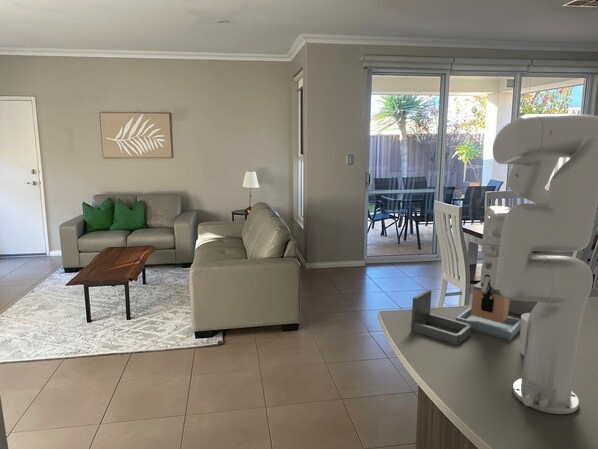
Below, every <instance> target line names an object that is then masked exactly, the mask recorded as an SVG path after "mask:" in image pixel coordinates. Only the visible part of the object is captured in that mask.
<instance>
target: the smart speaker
mask: <svg viewBox="0 0 598 449" xmlns="http://www.w3.org/2000/svg"><path fill="white" fill-rule="evenodd" d="M537 303H538V302H534V301H515V300H510V301H509V311H508V313H511V314H512V315H514V316H517V315H518V317H521V315H522V314H524V313H531V311H532V309H533V308H534V307H535V305H536V304H537Z"/></svg>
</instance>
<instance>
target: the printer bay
mask: <svg viewBox="0 0 598 449" xmlns="http://www.w3.org/2000/svg"><path fill="white" fill-rule="evenodd" d="M432 292H433V291H432V289H427V290H424V291H423V292H421V293H419V294H417V295H416V296H413V298H412V307H411V308H412V309H411V325H410V326H411V327H410V331H412V332H415V333H418V334H422V335H425V336H429V337H431V338H433V339H438V340H441V341H444V342H447V343H449V344H450V343H451V344H453V345H458V344H462V342H463V341H465V340H466V339H467V338H468V337H469V336H470V335H471V332H472V330H471V325H470V324H467V323H463V322H459V321H456V319H451V318H449V317H444V316H440V315H437V314H434V313H431V304H432V303H431V302H432ZM428 323H430V324H434V325H437V326H440V327H444V328H447V329H450V330H454V331H458V332H457V333H454V332H450V331H447V330H444V329H440V328H436V327H434V326H431V325H427V324H428Z"/></svg>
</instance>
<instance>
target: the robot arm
mask: <svg viewBox="0 0 598 449" xmlns="http://www.w3.org/2000/svg"><path fill="white" fill-rule="evenodd" d="M492 156H493V160H494V161H495V163H497V164H499V165H512V168H511V170H510V172H509V175H508V178H507V185H508V186H507V187H508V188H509V189H510V190H511V191H512V192H513V194H515V195H517V196H519V197H521V198H523V199H526V200H528V201H529V202H532V203H519V204H516V205H514V206H512V207H510V206H509V207H508V206H503V205H490V206H487V207H486V208H485V211H484V217H483V230H482V240H481V241H482V242H481V252H480V253H481V254H482V255H483V257H482V264H481V269H480V270H481V271H480V279H479V282H480V286H481V287H482V290H481V292H482V303H481V310H483V311H487V312H493V303H494V299H493V294H494V290H495V291H497V290H499V292H500V294H501V295H502V296H503V297H504V298H506V299H509V300H515V301H534V302H538V303H537V304H536V305H535V307H534V308H533V309H532V311H531V313H530V315H529V319H528V325H527V334H526V343H525V352H524V356H523V362H522V363H523V364H522V373H521V378H519V379H517V380H515V381H514V382H513V384H512V393H513V395H514V396H515V397H516V398H517V399H518V400H519V401H520V402H522V403H523V404H524V405H525V406H527V407H530V408H532V409H534V410H537V411H540V412H543V413H547V414H553V415H568V414H572V413H575V412H576V411H577V410H578V409H579V407H580V400H579V398H578V395H576V393H574V392H573V382H574V378H575V368H576V362H577V361H576V360H577V356H578V355H577V354H578V349H579V348H578V347H579V339H580V334H581V329H582V328H581V327H582V319H583V316H584V311H585V309H586V308H585V307H586V305H587V302H588V299H589V296H590V294H591V292H592V289H593V283H594V276H593V272H592V269H591V268H590V266H589V265H588V263H586V262H585V261H584V260H582V259H580V258H578V257H577V258H576V257H573V256H569V255H552V254H551V255H548V254H547V255H543V254H537V255H536V254H532V253H533V252H556V253H557V252H559V253H561V252H562V253H563V252H564V253H566V252H567V253H568V252H569V253H570V252H571V253H572V252H579V251H582V250H584V249H586V248H587V247H588V245H589V244H590V242H591V239H592V235H593V232H594V226H595V222H596V215H597V210H598V115H592V114H581V113H577V114H575V113H573V114H570V113H567V114H566V113H565V114H564V113H561V114H559V113H558V114H524V115H522V116H521V115H520V116H518V117H517V118H515V119H513V120H512V121H510V122H509V123H507V124H506V125H505V126H503V127H502V128H501V129H500V130H499V131H498V133H497V135H496V137H495V139H494V141H493V145H492ZM560 158H569V159H568V160H567V161H566V162H564V163H563V164H562V165H561V166H560V167H559V168H558V170H557V171H556V172H555V173H554V170H555V168H556V166H557V164H558V162H559V159H560ZM553 173H554V174H553ZM552 174H553V175H552ZM548 182H549V185H548ZM547 185H548V190H547V188H546V186H547ZM531 254H532V255H531ZM489 286H491V287H492V288H488V287H489ZM488 290H490V291H491V293H490V292H488Z"/></svg>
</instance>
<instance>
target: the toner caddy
mask: <svg viewBox="0 0 598 449" xmlns="http://www.w3.org/2000/svg"><path fill="white" fill-rule="evenodd" d="M488 288H492V287H491V286H489V287H488ZM481 290H482V287H481V286H480V281H478V282H477V283H476V284H474V285H473V286H472V298H471V307H472V308H471V315H474V316H478V317H481V318H485V319H489V320H493V321H496V322H500V323H503V322H504V321H505V320H506V319H507V318H508V316H509V301H510V300H509V299H506V298H504V297H503V296H502V295H501V294H500V292H499V290H497V291H495V290H494V294H493V299H494V303H493V312H487V311H483V310H481V303H482V292H481ZM488 292H490V293H491V291H490V290H488Z"/></svg>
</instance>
